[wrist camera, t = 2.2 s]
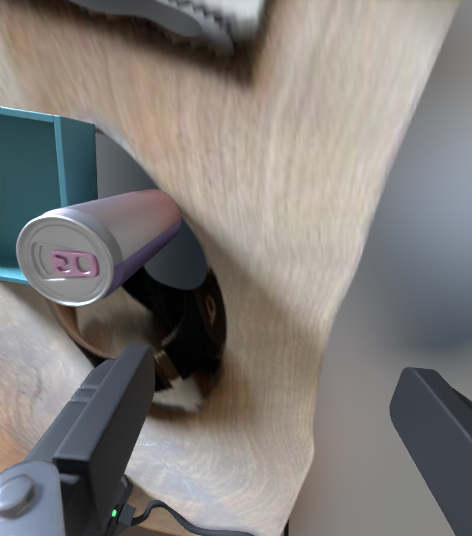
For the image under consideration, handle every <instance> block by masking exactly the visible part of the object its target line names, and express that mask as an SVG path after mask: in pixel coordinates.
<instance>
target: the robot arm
mask: <svg viewBox="0 0 472 536" xmlns="http://www.w3.org/2000/svg"><path fill="white" fill-rule="evenodd" d="M154 390H155V369H154V349H153V347H152V346H147V345H135V344H128V345H126V347H125V348H124V349H123V351H122V352H121V354H120V355H119V357H118V358H117V360H109V359H107V360H106V361H104V362H103V363H102V364H100V365H99V366H98V367H96V368H95V369H93V370H92V371H91V372H90V374H89V375H88V376H87V378H86V379H85V380H84V382H83V383H82V384H81V387H80V388H78V390H77V391H76V392H75V394H74V395H73V396H72V398H71V401H69V402H68V403H67V404H66V406H65V407H64V408H63V410H62V411H61V412H60V414H59V415H58V416H57V418H56V419H55V420H54V422H53V423H52V424H51V426H50V427H49V428H48V430H47V431H46V432H45V434H44V435H43V436H42V438H41V439H40V440H39V442H38V443H37V444H36V446H35V447H34V448H33V450H32V451H31V452H30V454H29V455H28V456H27V457H26V458H25V460H24V461H23V462H20V463H17V464H15V465H13V466H11V467H9V468H7V469H5V470H4V471H2V472H0V536H117V535H119V534H120V533H122V532H123V531H124V530H126V529H127V528H128V527H130V526H134V525H137V524H140V523H142V522H143V521H144V520H146V519H147V517H148V516H149V514H150V512H151V510H152V508H155V507H162V508H165V509H167V510H168V511H169V512H170V513H171V514H172V515H173V516H174V518H175V519H176V520H177V521H178V522H179V523H180V524H181V525H182V526H183V527H184V528H185V529H186V530H188V531H189V532H192V533H194V534H197V535H201V536H254V535H252V534H249V533H245V532H240V531H227V530H208V529H203V528H199V527H196V526H193V525H191V524H190V523H188V522H187V521H186V520H185V519H184V518H183V517H182V516H181V515H179V514H178V513H177V512H176V511H174V510H173V509H172V508H170V507H169V506H168V505H166V504H165V503H164V502H162V501H160V500H155V501H152V502H150V503H149V504H148V506H147V508H146V510H145V512H144V513H143V514H142V515H141V516H138V517H135V518H133V516H134V513H135V511H136V508H134V507H132V506H131V505H129V504H127V500H128V498H129V495H130V493H131V490H132V487H133V485H132V484H130V483H129V482H128V480H127V479H126V477H125V476H124V475H123V474H124V471H125V469H126V466H127V464H128V461H129V459H130V456H131V454H132V451H133V449H134V446H135V444H136V441H137V439H138V436H139V434H140V431H141V429H142V426H143V424H144V421H145V419H146V416H147V414H148V411H149V409H150V406H151V403H152V400H153V396H154ZM390 416H391V420H392V422H393V425H394V427H395V429H396V430H397V432H398V434H399V436H400V437H401V439H402V441H403V443H404V444H405V446H406V448H407V450H408V451H409V453H410V455H411V457H412V459H413V460H414V462H415V464H416V466H417V467H418V469H419V471H420V473H421V474H422V476H423V478H424V480H425V482H426V483H427V485H428V487H429V489H430V490H431V492H432V494H433V496H434V497H435V499H436V501H437V502H438V505H439V506H440V508H441V510H442V512H443V513H444V515H445V517H446V519H447V521H448V522H449V524H450V526H451V528H452V529H453V531H454V533H455V535H456V536H472V402H471V401H470V400H469V399H467V398H466V397H465V396H463V395H462V394H460V393H459V392H458V391H456V390H455V389H454V388H452V387H451V386H450V385H449V384H448V383H447V382H446V381H445V380H444V379H443V378H442V377H441V376H440V375H439V373H438V372H436V371H435V370H432V369H422V368H410V367H407V368H405V369H403V371H402V373H401V376H400V379H399V381H398V384H397V386H396V389H395V392H394V395H393V397H392V400H391V404H390ZM288 534H289V518H288V520H287V523H286V525H285V527H284V536H289V535H288Z"/></svg>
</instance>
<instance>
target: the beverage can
mask: <svg viewBox="0 0 472 536" xmlns="http://www.w3.org/2000/svg"><path fill="white" fill-rule="evenodd" d="M180 226H181V214H180V211H179V208H178V206H177V204H176V203H175V201H174V200H173V199H172V198H171V197H170V196H169V195H168V194H166V193H165V192H163V191H161V190H157V189H151V188H150V189H143V190H138V191H134V192H129V193H125V194H120V195H116V196H112V197H107V198H103V199H98V200H94V201H90V202H85V203H81V204H76V205H72V206H68V207H63V208H59V209H55V210H51V211H48V212H46V213H44V214H43V215H41V216H40V217H38V218H36V219H34V220H32V221H30V222H29V223H28V224H27V225H26V226H25V227H24V228H23V229H22V231H21V232H20V234H19V237H18V240H17V245H16V254H17V260H18V263H19V266H20V269H21V271H22V273H23V275H24V276H25V278H26V279H27V281H28V282H29V283H30V284H31V286H32V287H33V288H34V289H35V290H36V291H38V292H39V293H40V294H41V295H43V296H44V297H46V298H47V299H49V300H51V301H53V302H55V303H58V304H61V305H64V306H70V307H82V306H87V305H90V304H93V303H95V302H97V301H98V300H100V299H103V298H105V297H107V296H109V295H110V294H112V293H113V292H114V291H115V290H116V289H117V288H118V287H120V286H121V285H122V284H123V283H124V282H125V281H126V280H127V279H129V278H130V277H131V276H132V275H133V274H134V273H135V272H136V271H138V270H139V269H140V268H141V267H142V266H143V265H144V264H145V263H146V262H148V261H149V260H150V259H151V258H152V257H153V256H154V255H155V254H157V253H158V252H159V251H160V250H161V249H162V248H163V247H164V246H166V245H167V244H168V243H169V242H170V241H171V240H172V239H173V238H174V237H175V236H176V235H177V234H178V232H179V229H180Z"/></svg>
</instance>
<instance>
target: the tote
mask: <svg viewBox="0 0 472 536" xmlns="http://www.w3.org/2000/svg"><path fill="white" fill-rule="evenodd" d="M94 200H98V194H97V169H96V144H95V124H91V123H87V122H83V121H79V120H74V119H70V118H66V117H62V116H56V115H50V114H44V113H37V112H31V111H25V110H18V109H12V108H6V107H0V280H1V281H7V282H12V283H18V284H24V285H30V286H31V284H30V283H29V282H28V281H27V279H26V278H25V276H24V275H23V273H22V271H21V269H20V266H19V263H18V260H17V254H16V245H17V240H18V237H19V234H20V232H21V231H22V229H23V228H24V227H25V226H26V225H27V224H28V223H29V222H30V221H32V220H34V219H36V218H38V217H40V216H41V215H43V214H44V213H46V212H48V211H51V210H55V209H59V208H63V207H68V206H72V205H76V204H81V203H85V202H90V201H94Z"/></svg>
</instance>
